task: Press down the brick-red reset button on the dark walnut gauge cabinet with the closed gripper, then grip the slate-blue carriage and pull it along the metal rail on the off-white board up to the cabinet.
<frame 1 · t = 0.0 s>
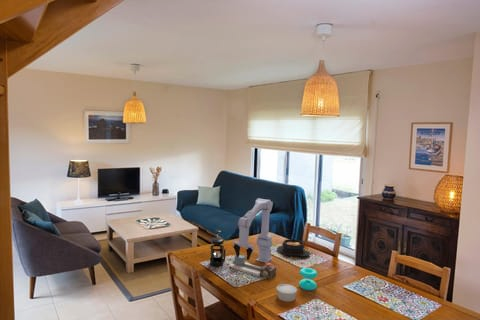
hand: (243, 258, 205), 10 cm above the table, tool pointing down, fingers open, 7 cm apart
ramekin: (286, 298, 178), on the table
french press: (217, 264, 219), on the table
gauge cabinet: (268, 275, 205), on the table
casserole: (292, 253, 245), on the table
carriage: (240, 260, 216), point 4 cm above the table, slide at -6.0 cm
donuts: (307, 287, 191), on the table
rail: (247, 269, 213), on the table
reset button: (268, 267, 205), point 5 cm above the table, slide at 0.0 cm
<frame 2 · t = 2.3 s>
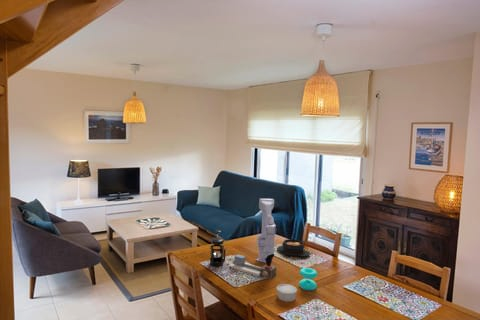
hand: (268, 265, 204), 6 cm above the table, tool pointing down, fingers closed, pressing on reset button
reset button: (268, 269, 205), point 4 cm above the table, slide at -1.0 cm, touching gripper
everything else where it was.
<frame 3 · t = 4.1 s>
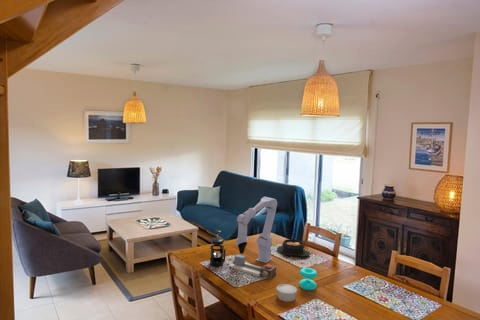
hand: (241, 253, 215), 9 cm above the table, tool pointing down, fingers closed
reset button: (268, 269, 205), point 4 cm above the table, slide at -1.2 cm
everything else where it was.
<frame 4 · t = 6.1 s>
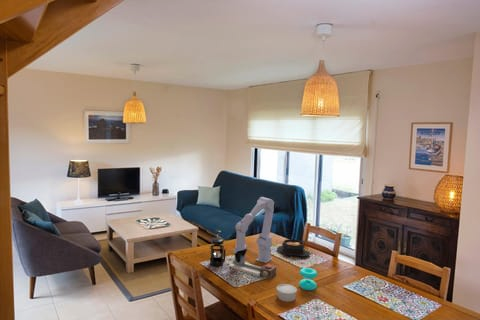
hand: (239, 260, 216), 4 cm above the table, tool pointing down, fingers closed on carriage, 4 cm apart
carriage: (240, 260, 216), point 4 cm above the table, slide at -6.0 cm, touching gripper
everything else where it was.
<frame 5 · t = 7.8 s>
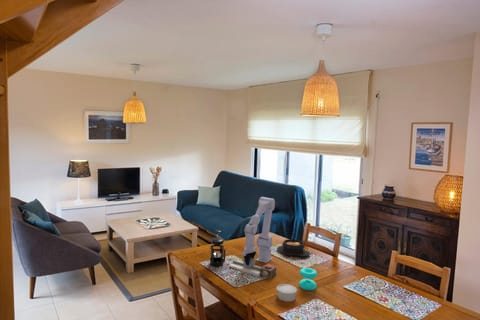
hand: (249, 263, 212), 4 cm above the table, tool pointing down, fingers closed on carriage, 4 cm apart
carriage: (248, 262, 212), point 4 cm above the table, slide at 0.8 cm, touching gripper
everything else where it was.
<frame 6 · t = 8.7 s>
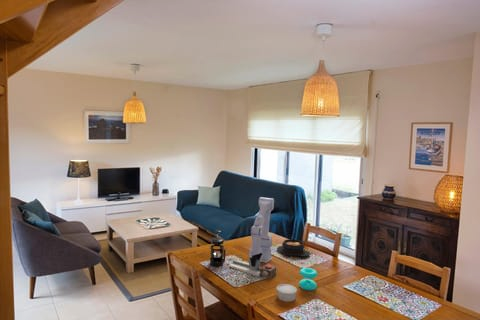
hand: (255, 265, 210), 4 cm above the table, tool pointing down, fingers closed on carriage, 4 cm apart
carriage: (254, 264, 210), point 4 cm above the table, slide at 5.2 cm, touching gripper
everything else where it was.
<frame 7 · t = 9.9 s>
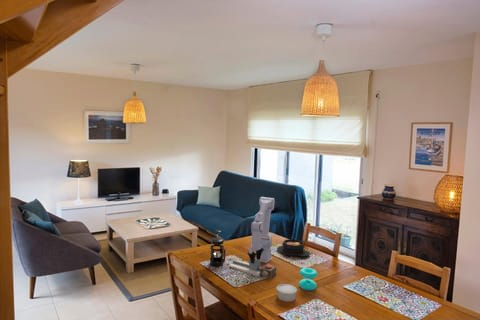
hand: (255, 261, 210), 7 cm above the table, tool pointing down, fingers open, 7 cm apart
carriage: (254, 264, 210), point 4 cm above the table, slide at 5.2 cm
everything else where it was.
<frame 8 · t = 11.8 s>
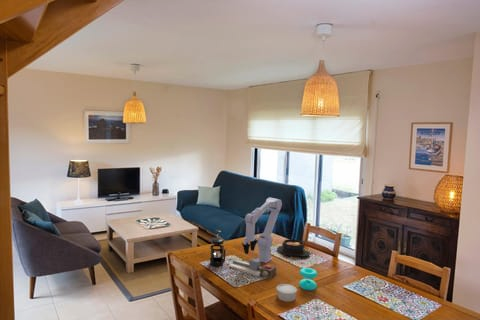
hand: (249, 252, 217), 9 cm above the table, tool pointing down, fingers open, 7 cm apart
nothing on the table moved.
at the end: reset button slide at -1.2 cm; carriage slide at 5.2 cm; french press moved 0.2 cm from its start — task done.
